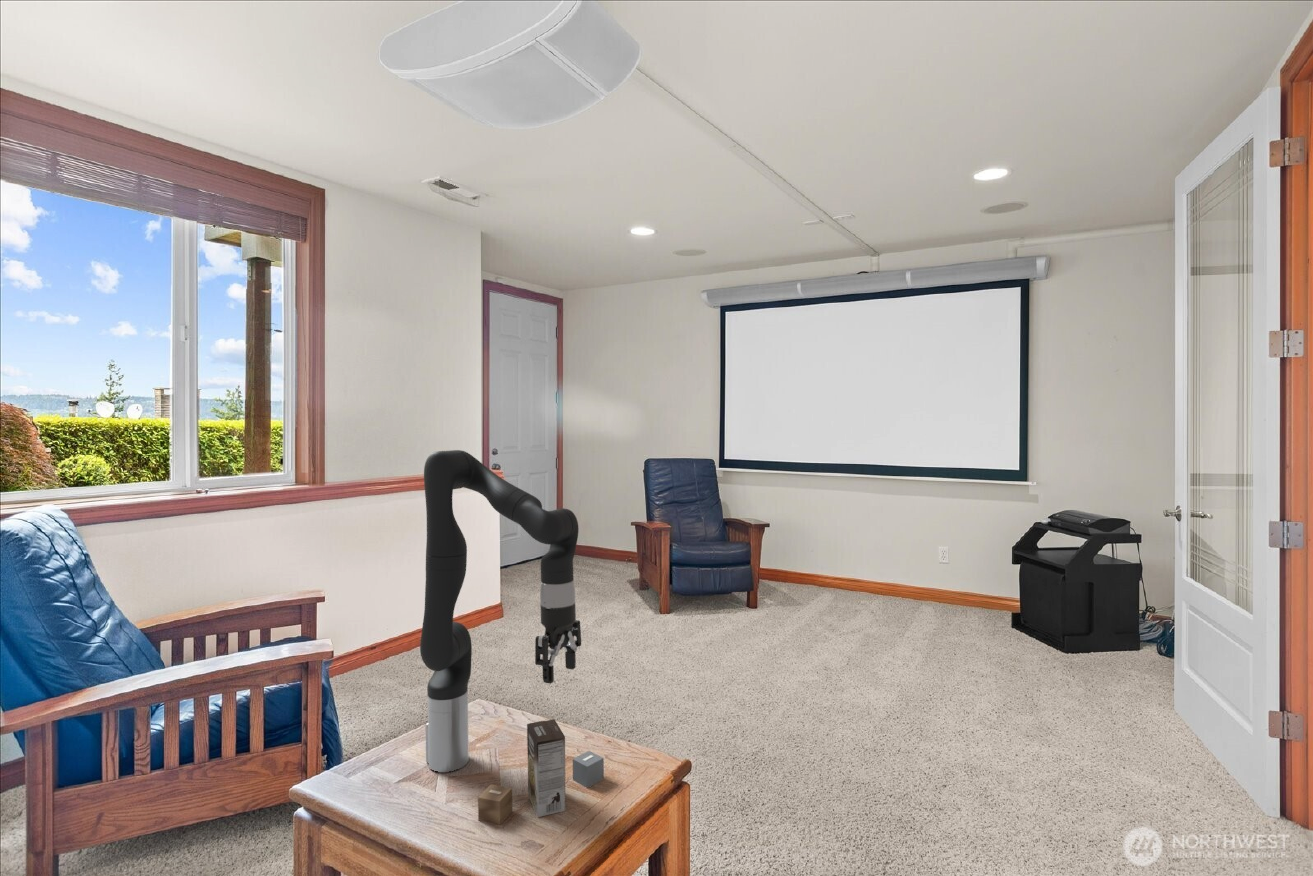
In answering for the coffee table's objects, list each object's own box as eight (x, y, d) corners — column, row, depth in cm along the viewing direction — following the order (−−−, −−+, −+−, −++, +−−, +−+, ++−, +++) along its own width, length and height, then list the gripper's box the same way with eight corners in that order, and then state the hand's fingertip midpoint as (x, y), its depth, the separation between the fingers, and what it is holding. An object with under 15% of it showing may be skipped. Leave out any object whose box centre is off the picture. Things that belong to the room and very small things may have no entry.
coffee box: (526, 795, 144) (526, 723, 144) (555, 788, 147) (554, 717, 146) (536, 818, 136) (535, 742, 135) (566, 811, 138) (565, 735, 138)
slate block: (572, 780, 150) (572, 758, 150) (589, 771, 154) (588, 750, 154) (587, 788, 147) (587, 766, 147) (603, 779, 151) (603, 757, 150)
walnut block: (478, 821, 135) (478, 796, 135) (491, 807, 140) (491, 783, 140) (499, 825, 134) (499, 800, 134) (512, 811, 139) (511, 787, 138)
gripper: (561, 592, 151) (563, 662, 151) (523, 608, 138) (525, 685, 138) (589, 595, 148) (591, 666, 148) (553, 612, 135) (555, 690, 135)
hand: (559, 675), depth 143 cm, fingers open, 8 cm apart
